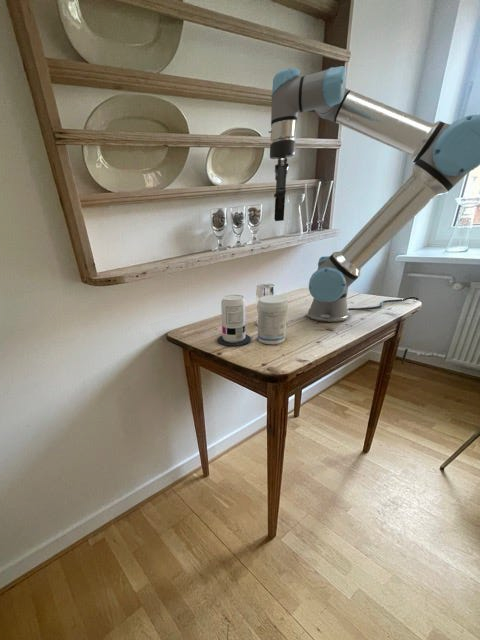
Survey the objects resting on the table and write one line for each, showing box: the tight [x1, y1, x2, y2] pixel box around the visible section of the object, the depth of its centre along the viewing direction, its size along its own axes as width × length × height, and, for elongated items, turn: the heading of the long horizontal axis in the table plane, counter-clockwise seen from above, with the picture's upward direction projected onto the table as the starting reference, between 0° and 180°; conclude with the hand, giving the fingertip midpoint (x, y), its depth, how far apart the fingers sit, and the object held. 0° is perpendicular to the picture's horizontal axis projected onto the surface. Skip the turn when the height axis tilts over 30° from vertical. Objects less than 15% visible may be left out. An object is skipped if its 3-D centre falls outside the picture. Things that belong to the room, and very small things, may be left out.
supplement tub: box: [257, 294, 289, 345], centre depth 102 cm, size 10×10×15 cm
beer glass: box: [255, 283, 275, 326], centre depth 117 cm, size 7×7×15 cm
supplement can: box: [220, 294, 246, 343], centre depth 105 cm, size 8×8×15 cm
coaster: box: [217, 333, 252, 347], centre depth 109 cm, size 12×12×1 cm
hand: (278, 220), depth 102 cm, fingers open, 13 cm apart
